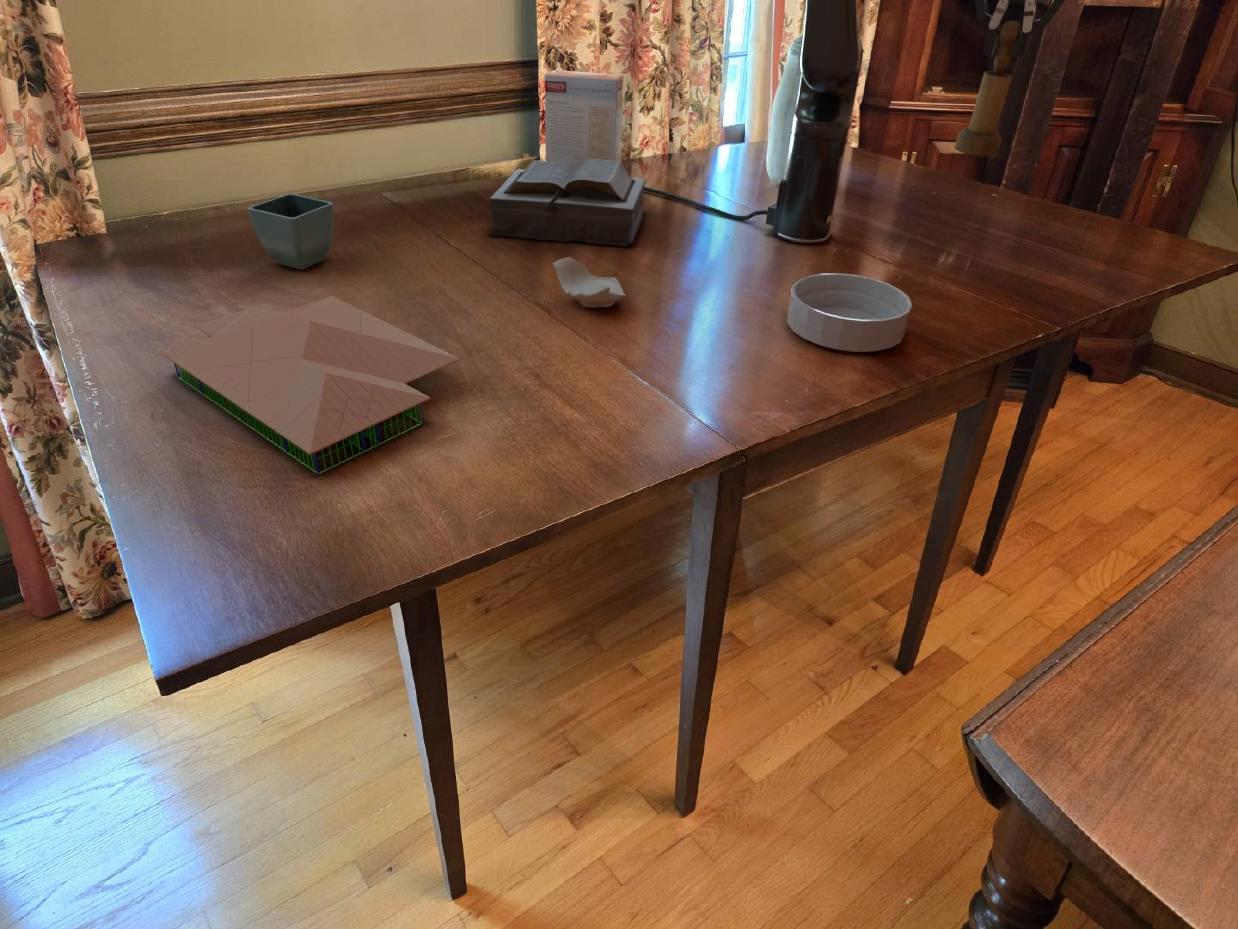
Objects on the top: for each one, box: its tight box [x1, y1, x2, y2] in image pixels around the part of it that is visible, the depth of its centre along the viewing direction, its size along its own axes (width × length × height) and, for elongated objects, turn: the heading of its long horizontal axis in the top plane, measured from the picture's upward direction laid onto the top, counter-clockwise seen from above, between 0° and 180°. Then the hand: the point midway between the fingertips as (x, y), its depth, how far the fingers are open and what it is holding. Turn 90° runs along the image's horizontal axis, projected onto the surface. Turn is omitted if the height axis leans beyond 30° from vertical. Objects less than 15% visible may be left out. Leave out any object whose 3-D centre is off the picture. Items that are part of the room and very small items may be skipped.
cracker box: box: [544, 69, 624, 166], centre depth 159 cm, size 14×6×21 cm, turn 77°
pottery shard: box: [552, 256, 627, 309], centre depth 118 cm, size 10×11×5 cm
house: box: [160, 295, 461, 475], centre depth 95 cm, size 23×33×8 cm
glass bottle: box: [765, 35, 803, 186], centre depth 163 cm, size 10×10×28 cm
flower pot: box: [247, 193, 334, 271], centre depth 125 cm, size 9×9×9 cm
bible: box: [489, 159, 647, 247], centre depth 144 cm, size 23×27×10 cm
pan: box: [786, 272, 913, 353], centre depth 114 cm, size 16×16×5 cm
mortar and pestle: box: [954, 20, 1022, 158], centre depth 123 cm, size 7×6×18 cm
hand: (1001, 58), depth 121 cm, fingers closed on mortar and pestle, 3 cm apart
